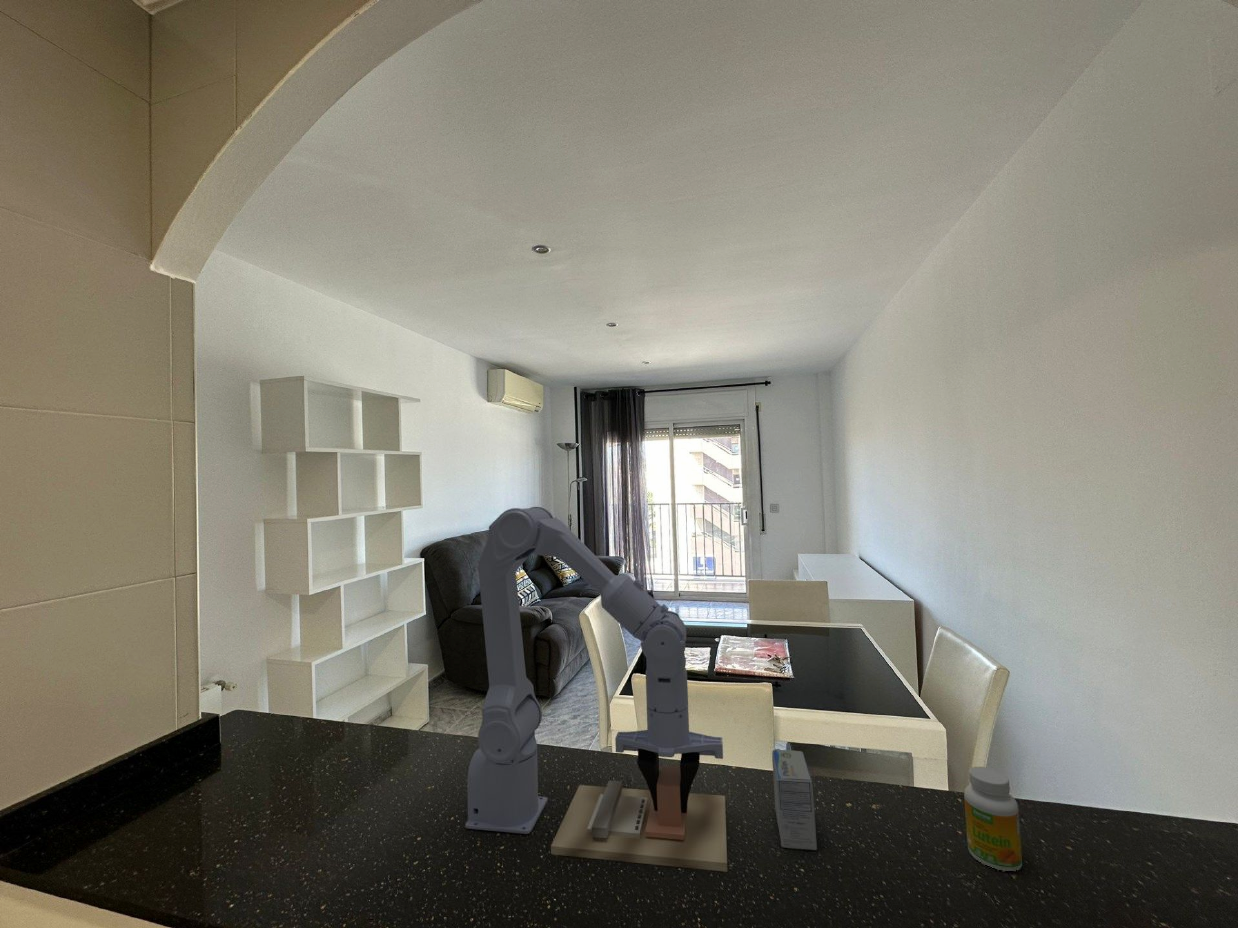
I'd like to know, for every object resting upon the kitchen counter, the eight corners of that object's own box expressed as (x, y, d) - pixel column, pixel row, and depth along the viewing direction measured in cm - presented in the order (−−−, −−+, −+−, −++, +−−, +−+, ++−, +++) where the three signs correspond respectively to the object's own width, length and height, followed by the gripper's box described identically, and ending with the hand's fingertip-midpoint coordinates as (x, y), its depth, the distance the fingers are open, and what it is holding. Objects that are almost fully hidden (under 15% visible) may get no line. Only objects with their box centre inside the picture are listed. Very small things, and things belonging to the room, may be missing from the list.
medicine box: (817, 852, 64) (813, 780, 65) (780, 848, 65) (776, 777, 66) (807, 813, 72) (804, 750, 73) (774, 811, 73) (771, 748, 73)
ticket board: (551, 853, 65) (550, 831, 66) (579, 791, 79) (579, 772, 79) (727, 871, 61) (726, 847, 62) (725, 802, 75) (724, 782, 75)
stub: (645, 836, 66) (643, 790, 67) (652, 800, 74) (651, 759, 74) (684, 839, 65) (682, 793, 66) (687, 802, 73) (686, 761, 74)
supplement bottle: (967, 862, 62) (961, 778, 62) (967, 837, 66) (962, 759, 67) (1024, 880, 59) (1017, 791, 59) (1020, 852, 63) (1014, 770, 64)
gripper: (609, 714, 68) (612, 821, 67) (721, 719, 65) (725, 830, 65) (619, 694, 75) (622, 790, 74) (720, 698, 72) (724, 798, 71)
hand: (670, 807), depth 70 cm, fingers closed on stub, 3 cm apart
